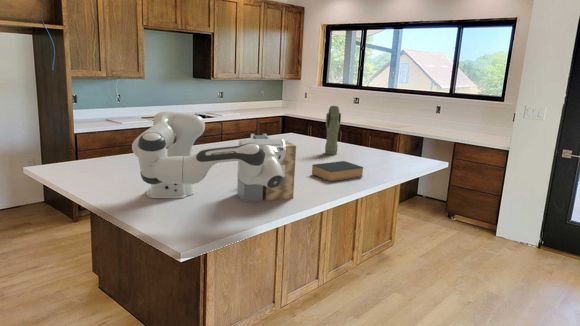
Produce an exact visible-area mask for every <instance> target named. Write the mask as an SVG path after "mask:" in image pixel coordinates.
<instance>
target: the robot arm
mask: <svg viewBox="0 0 580 326" xmlns="http://www.w3.org/2000/svg"><path fill="white" fill-rule="evenodd" d="M152 123H153V124H152V126H151V127H149V128H148V129H146V130H145V131H143V132H141V133H140V135H138V136H137V137H136V138H135V139H134V140H133V142H132V144H131V150H132V152H133V154H134V155H135V157H137V158H138V163H139V170H140V171H139V172H140V177H141V179H142V181H143V182H145V183H146V184H148V185H150V188H148V189H146V191H145V195H146V197H148V198H149V199H184V198H187V197H188V196H192V195H194V194H195V192H196V191H195V189H194V188H195V187H194V184H195V185H196V184H198V183H200V182H201V181H203V180H204V179H205V177H207V174H208V173H209V171H210V170H211V168H212V167H214V165H216V164H219V163H220V164H221V163H229V162H239V165H238V164H237V177H236V178H237V181H238V180H239V181H240V182H241V183H243V184H245V185H256V184H258V185H264V186H266V187H268V188H275V187H277V186H279V185H280V184H281V183H282V181H283V171H282V168H281V165H280V163H279V162H281V161H283V160H284V157H285V154H286V148H285V147H286V146H285V142H284V141H285V140H284V139H282V138H271V137H269V136H268V135H267V133H262V135H264V138H265V139H255V133H250V138H247V139H246V138H244V139H243V138H241V139H240V140H239V141H238V145H234V146H225V147H214V148H207V149H202V150H200V151H199V152H198V153H196V154H192V151H193V145H194V143H195V142H196V140H197V139H198V138H199V137H201V136H202V135H203V134H204V132H205V128H206V123H205V120H204V118H203V117H202V116H200V115H197V114H194V113H188V112H187V113H185V112H178V111H170V110H169V111H160V112H157V113H156V114H155V115H154V117H153V120H152ZM175 137H176V140H175Z"/></svg>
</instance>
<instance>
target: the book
mask: <svg viewBox="0 0 580 326" xmlns="http://www.w3.org/2000/svg"><path fill="white" fill-rule="evenodd" d="M311 166H312V167H311V168H312V169H311V175H313V176H315V177H318V178H320V179H322V180H325V181H328V182H335V181H341V180H342V181H344V180H348V179H355V178H362V177H363V171H364V166H361V165H359V164H355V163H351V162H348V161H345V160H342V161H333V162H332V161H331V162H326V163H325V162H324V163H316V164H312V165H311Z"/></svg>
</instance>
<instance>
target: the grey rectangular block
mask: <svg viewBox="0 0 580 326" xmlns="http://www.w3.org/2000/svg"><path fill="white" fill-rule="evenodd" d="M238 165H239V161H237V166H238ZM236 185H237V187H236V188H237V189H236V192H237V196H238V197H239V198H240V199H241V200H242V202H244V203H252V202H263V185H258V184H256V185H245V184H243V183H241V182H240V181H239V180H238V179H237V184H236Z"/></svg>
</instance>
